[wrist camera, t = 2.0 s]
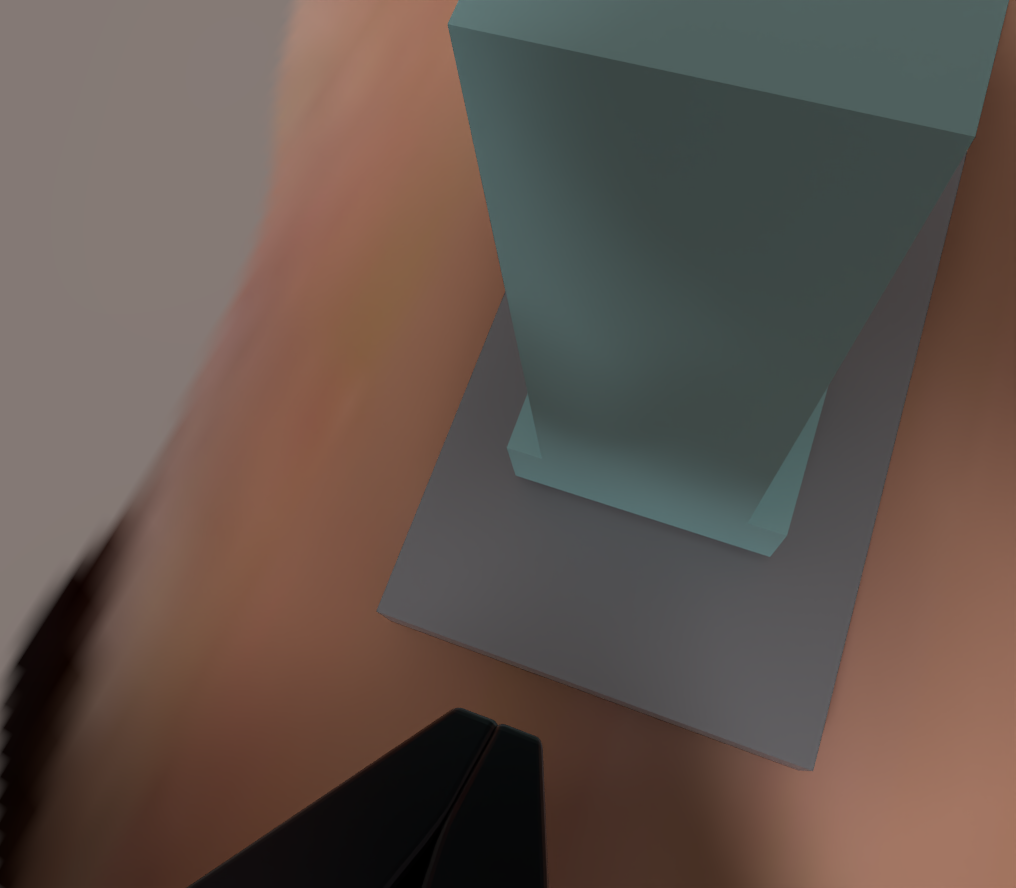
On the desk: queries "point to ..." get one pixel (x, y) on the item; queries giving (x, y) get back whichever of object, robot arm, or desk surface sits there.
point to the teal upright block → (705, 224)
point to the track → (667, 553)
